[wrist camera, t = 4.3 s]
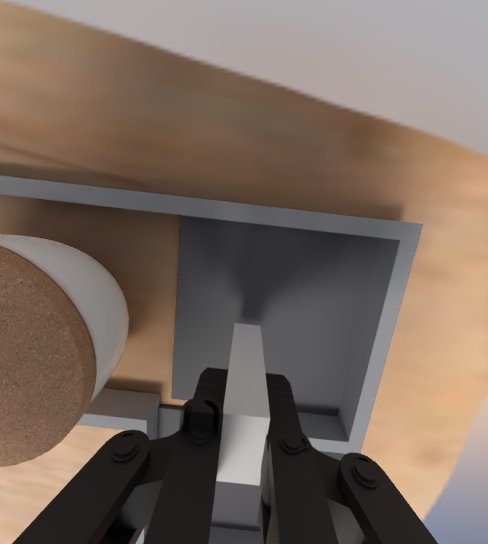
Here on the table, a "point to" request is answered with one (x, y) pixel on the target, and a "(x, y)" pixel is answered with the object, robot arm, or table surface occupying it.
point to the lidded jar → (52, 341)
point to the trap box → (266, 317)
